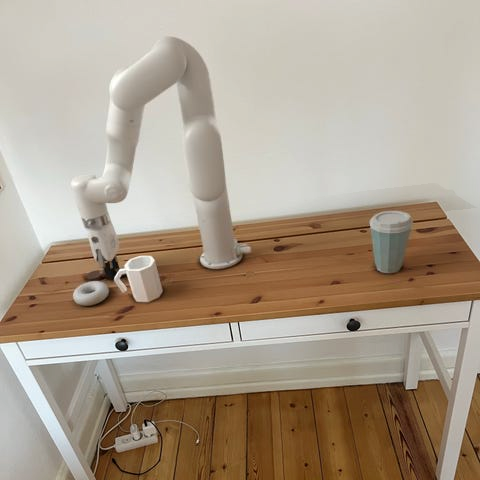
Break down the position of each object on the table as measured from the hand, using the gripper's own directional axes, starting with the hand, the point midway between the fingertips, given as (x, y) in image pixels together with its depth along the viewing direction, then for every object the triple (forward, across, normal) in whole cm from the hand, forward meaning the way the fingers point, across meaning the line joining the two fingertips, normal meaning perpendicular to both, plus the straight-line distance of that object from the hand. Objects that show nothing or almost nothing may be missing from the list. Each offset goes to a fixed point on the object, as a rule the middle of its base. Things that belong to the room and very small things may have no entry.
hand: (113, 275), depth 160 cm
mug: (0, -12, -11) cm, 16 cm away
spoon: (0, 0, +1) cm, 1 cm away
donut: (0, -12, +3) cm, 12 cm away
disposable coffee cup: (0, -6, -79) cm, 79 cm away
